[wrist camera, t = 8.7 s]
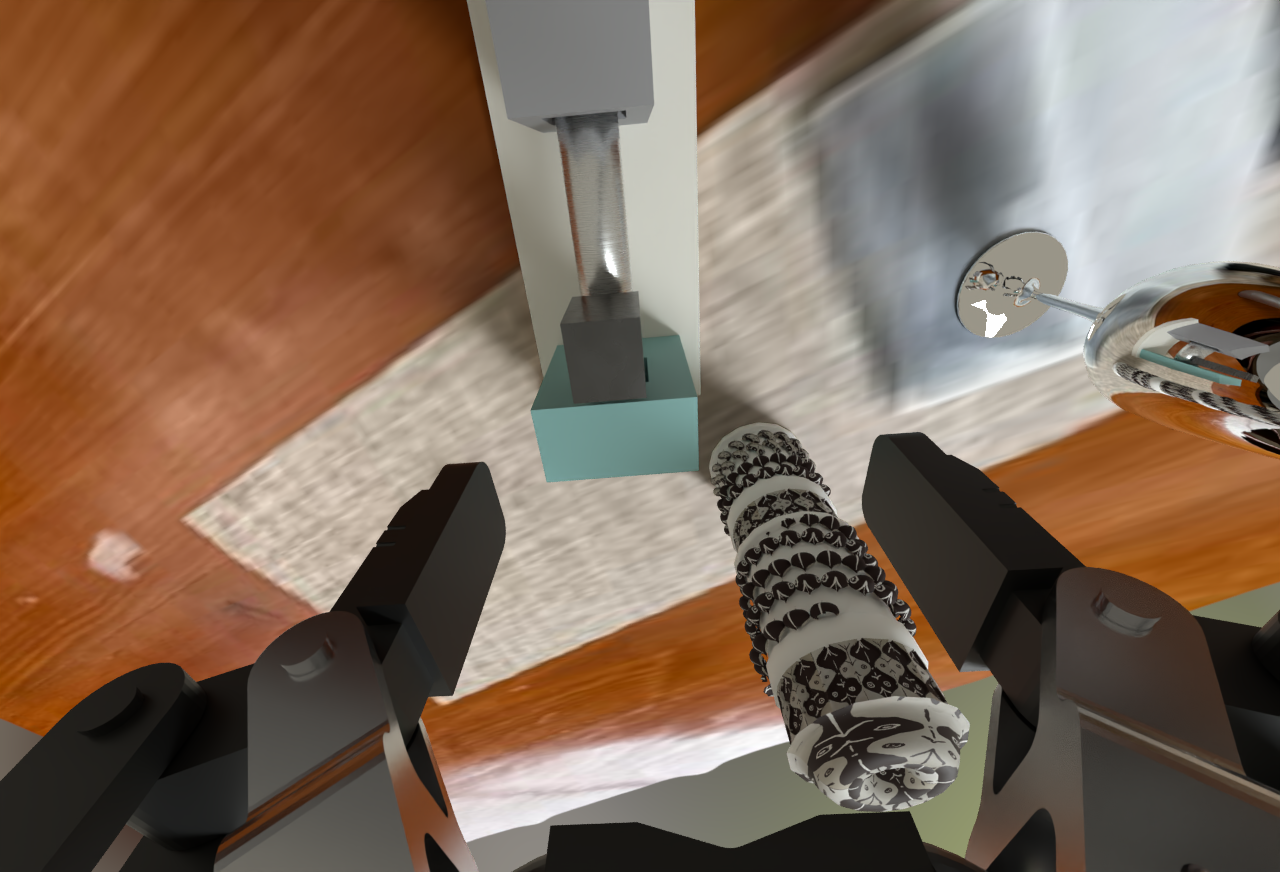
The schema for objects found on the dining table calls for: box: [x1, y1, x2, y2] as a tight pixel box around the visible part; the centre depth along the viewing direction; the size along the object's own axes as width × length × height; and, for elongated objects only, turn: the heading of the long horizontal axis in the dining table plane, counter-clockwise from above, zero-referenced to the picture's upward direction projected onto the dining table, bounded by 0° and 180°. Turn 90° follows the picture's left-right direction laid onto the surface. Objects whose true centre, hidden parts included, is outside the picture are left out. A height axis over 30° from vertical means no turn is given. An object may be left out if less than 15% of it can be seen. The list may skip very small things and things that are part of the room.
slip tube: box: [555, 111, 647, 404], centre depth 23 cm, size 21×4×8 cm, turn 5°
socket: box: [531, 335, 699, 482], centre depth 30 cm, size 5×9×10 cm, turn 95°
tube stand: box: [467, 0, 701, 395], centre depth 25 cm, size 32×12×11 cm, turn 5°
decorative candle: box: [709, 422, 970, 812], centre depth 30 cm, size 9×9×25 cm
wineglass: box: [957, 232, 1280, 460], centre depth 25 cm, size 8×8×20 cm
